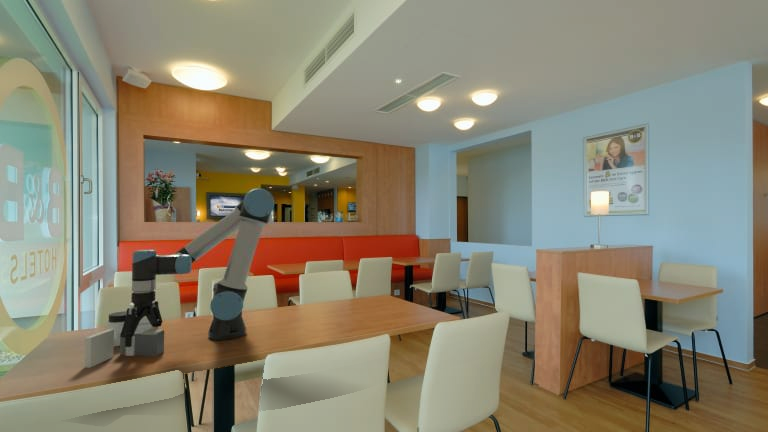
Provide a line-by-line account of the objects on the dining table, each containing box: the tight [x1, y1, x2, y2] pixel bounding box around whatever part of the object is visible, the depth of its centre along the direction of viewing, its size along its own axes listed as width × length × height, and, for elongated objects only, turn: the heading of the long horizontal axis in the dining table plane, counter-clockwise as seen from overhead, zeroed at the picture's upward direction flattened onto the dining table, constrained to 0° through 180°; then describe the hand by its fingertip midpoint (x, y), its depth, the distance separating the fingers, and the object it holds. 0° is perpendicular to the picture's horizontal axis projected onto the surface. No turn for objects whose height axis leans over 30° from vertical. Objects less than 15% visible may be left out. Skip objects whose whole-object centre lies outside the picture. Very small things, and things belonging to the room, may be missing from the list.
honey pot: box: [128, 302, 153, 331], centre depth 170 cm, size 13×13×18 cm
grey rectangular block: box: [119, 328, 165, 357], centre depth 137 cm, size 14×4×8 cm, turn 88°
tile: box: [84, 329, 115, 368], centre depth 129 cm, size 2×10×10 cm, turn 178°
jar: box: [106, 310, 127, 348], centre depth 149 cm, size 9×8×12 cm
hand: (142, 349), depth 137 cm, fingers open, 12 cm apart
